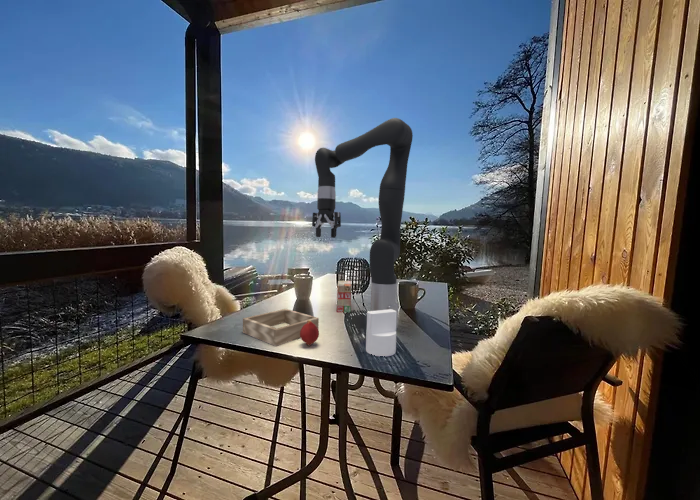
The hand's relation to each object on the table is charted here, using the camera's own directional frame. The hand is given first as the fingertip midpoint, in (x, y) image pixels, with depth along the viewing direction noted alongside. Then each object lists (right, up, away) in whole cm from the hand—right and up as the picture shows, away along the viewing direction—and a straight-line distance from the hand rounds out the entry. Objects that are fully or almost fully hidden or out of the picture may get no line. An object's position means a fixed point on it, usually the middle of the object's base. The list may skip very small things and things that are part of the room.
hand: (325, 237), depth 127 cm
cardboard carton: (+7, -33, +18) cm, 38 cm away
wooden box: (-14, -34, -21) cm, 42 cm away
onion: (-3, -35, -32) cm, 48 cm away
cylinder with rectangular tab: (+19, -36, -35) cm, 54 cm away
